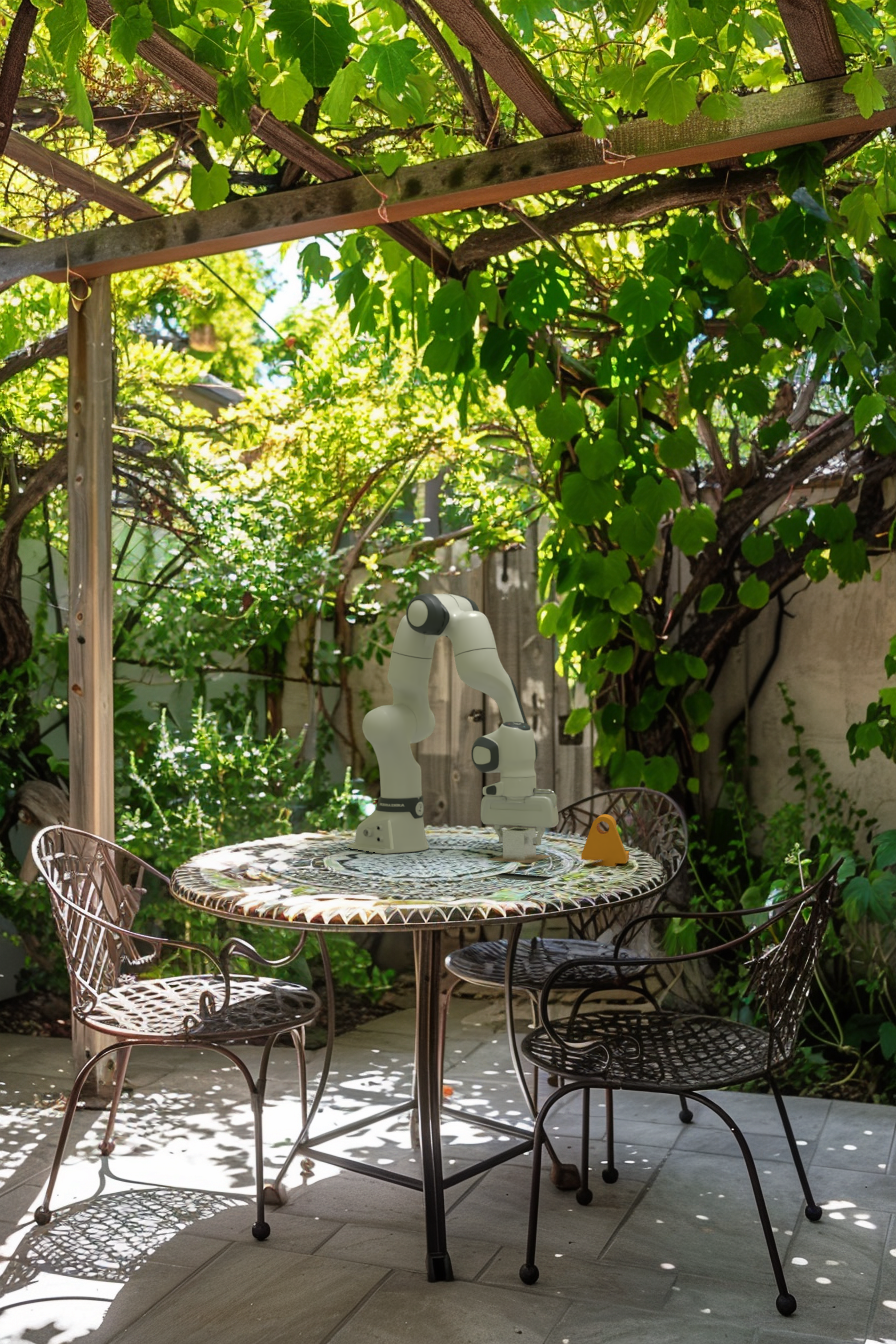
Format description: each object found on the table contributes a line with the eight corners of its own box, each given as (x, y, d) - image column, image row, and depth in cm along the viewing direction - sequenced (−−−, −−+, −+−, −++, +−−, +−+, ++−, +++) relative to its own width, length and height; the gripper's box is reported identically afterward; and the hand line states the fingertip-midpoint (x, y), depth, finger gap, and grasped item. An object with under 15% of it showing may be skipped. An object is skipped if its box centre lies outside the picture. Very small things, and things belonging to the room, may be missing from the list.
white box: (503, 858, 305) (502, 830, 305) (514, 855, 310) (514, 827, 310) (524, 860, 302) (524, 831, 301) (536, 856, 307) (535, 828, 307)
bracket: (629, 861, 305) (628, 813, 305) (625, 866, 298) (624, 817, 298) (586, 860, 308) (585, 812, 308) (581, 865, 301) (580, 816, 301)
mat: (496, 877, 287) (496, 875, 287) (520, 869, 298) (520, 866, 298) (542, 881, 281) (542, 878, 281) (565, 872, 291) (565, 870, 291)
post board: (486, 865, 304) (485, 835, 304) (510, 858, 314) (509, 828, 314) (530, 869, 297) (529, 838, 297) (552, 861, 308) (551, 831, 308)
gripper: (562, 788, 303) (563, 844, 303) (489, 785, 313) (490, 840, 314) (550, 790, 297) (552, 848, 297) (476, 788, 308) (478, 843, 308)
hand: (519, 844), depth 306 cm, fingers open, 8 cm apart
